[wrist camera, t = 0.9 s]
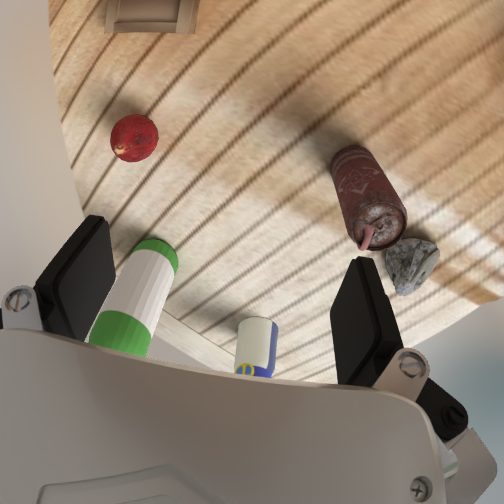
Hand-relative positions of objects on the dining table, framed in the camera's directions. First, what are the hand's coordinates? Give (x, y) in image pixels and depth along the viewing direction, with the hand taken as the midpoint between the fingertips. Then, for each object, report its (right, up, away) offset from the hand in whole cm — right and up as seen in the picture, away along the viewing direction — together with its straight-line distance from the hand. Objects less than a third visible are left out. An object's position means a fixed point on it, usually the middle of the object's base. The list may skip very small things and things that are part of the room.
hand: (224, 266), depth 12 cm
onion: (-13, +16, +26) cm, 33 cm away
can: (+14, +11, +27) cm, 32 cm away
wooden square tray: (-10, +30, +14) cm, 35 cm away
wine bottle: (-14, 0, +39) cm, 41 cm away
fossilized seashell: (+26, 0, +35) cm, 44 cm away
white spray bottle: (+2, -14, +48) cm, 51 cm away
